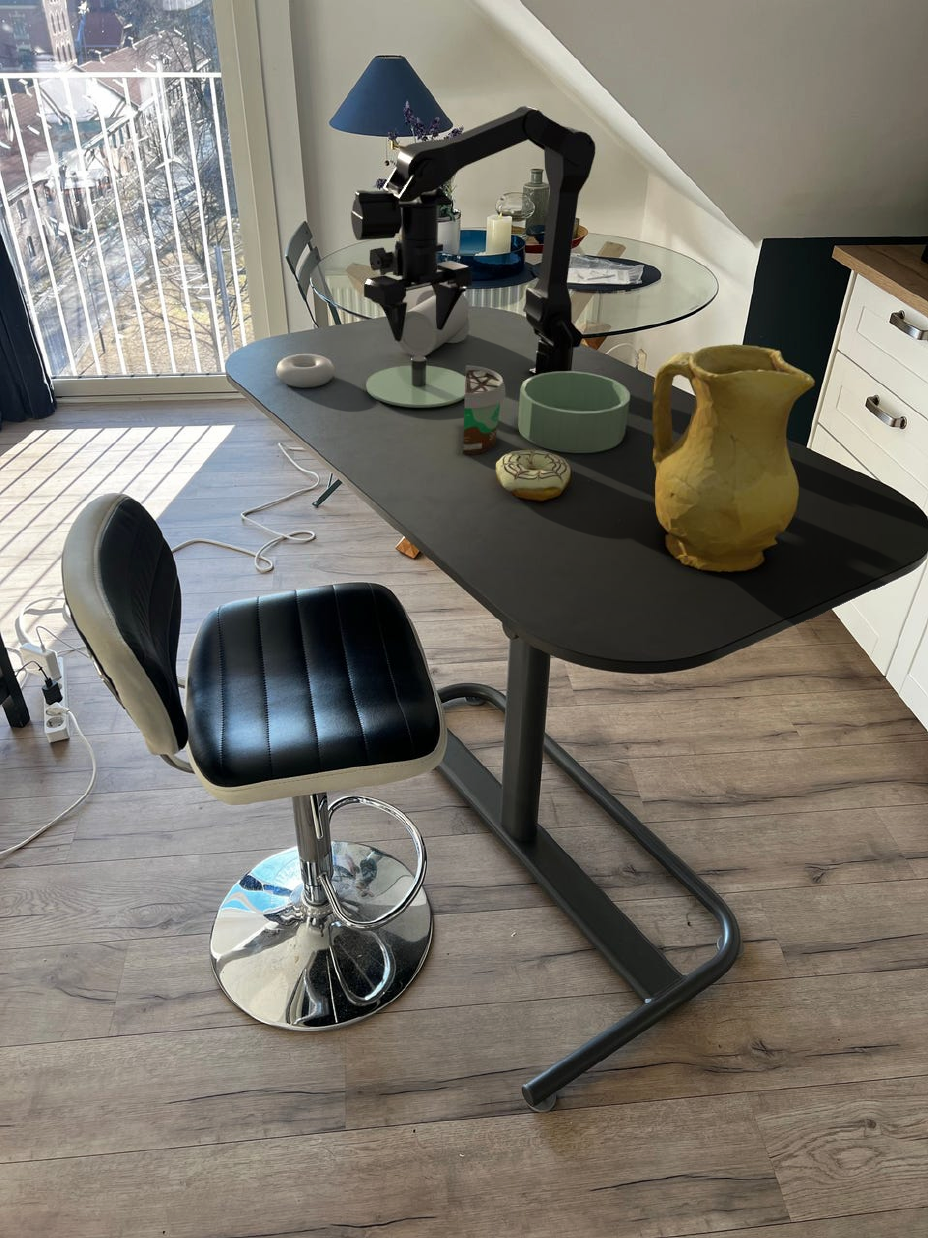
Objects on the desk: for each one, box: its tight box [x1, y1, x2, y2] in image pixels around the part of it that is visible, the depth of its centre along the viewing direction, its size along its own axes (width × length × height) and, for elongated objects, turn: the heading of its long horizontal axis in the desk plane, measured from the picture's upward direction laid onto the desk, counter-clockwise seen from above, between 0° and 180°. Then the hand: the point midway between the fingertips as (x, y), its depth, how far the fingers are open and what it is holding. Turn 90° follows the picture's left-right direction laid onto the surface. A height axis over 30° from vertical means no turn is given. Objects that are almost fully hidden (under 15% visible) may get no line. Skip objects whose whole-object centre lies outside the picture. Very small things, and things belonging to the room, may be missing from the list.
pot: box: [517, 371, 631, 454], centre depth 145 cm, size 17×17×6 cm
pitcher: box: [651, 343, 816, 573], centre depth 112 cm, size 17×19×25 cm
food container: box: [462, 364, 507, 455], centre depth 139 cm, size 12×6×10 cm, turn 179°
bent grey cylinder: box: [398, 285, 470, 357], centre depth 176 cm, size 18×11×20 cm
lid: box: [365, 356, 466, 409], centre depth 157 cm, size 18×18×6 cm
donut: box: [276, 353, 335, 388], centre depth 160 cm, size 10×4×10 cm
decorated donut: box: [495, 449, 572, 502], centre depth 130 cm, size 10×11×4 cm
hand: (419, 334), depth 152 cm, fingers open, 9 cm apart
